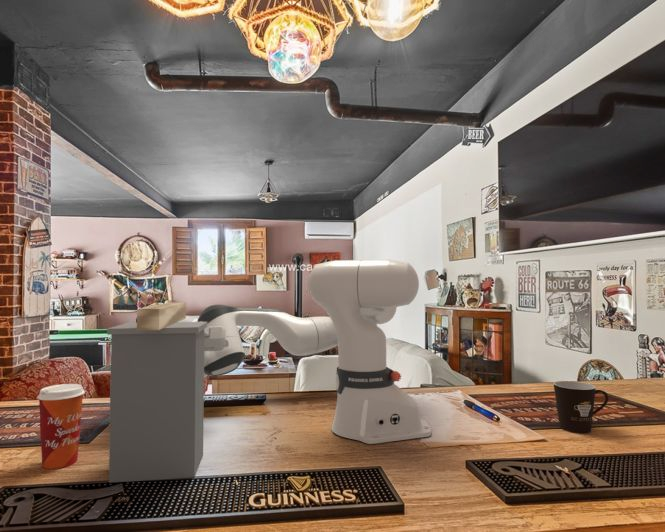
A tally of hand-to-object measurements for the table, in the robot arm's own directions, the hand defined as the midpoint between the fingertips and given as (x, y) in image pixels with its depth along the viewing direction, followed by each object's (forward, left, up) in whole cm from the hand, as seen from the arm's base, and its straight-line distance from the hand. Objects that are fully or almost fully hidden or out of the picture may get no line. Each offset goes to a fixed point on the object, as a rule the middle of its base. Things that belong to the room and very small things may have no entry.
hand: (176, 324), depth 98 cm
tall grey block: (-1, +17, -24) cm, 30 cm away
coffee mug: (-92, +9, -25) cm, 95 cm away
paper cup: (+18, +12, -25) cm, 33 cm away
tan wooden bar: (-1, +14, +2) cm, 14 cm away
